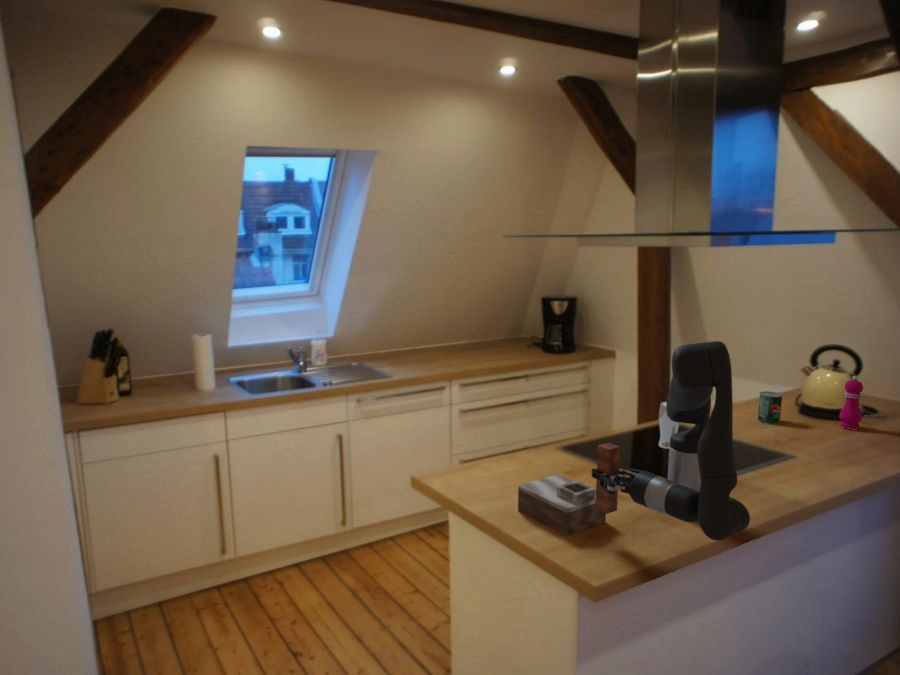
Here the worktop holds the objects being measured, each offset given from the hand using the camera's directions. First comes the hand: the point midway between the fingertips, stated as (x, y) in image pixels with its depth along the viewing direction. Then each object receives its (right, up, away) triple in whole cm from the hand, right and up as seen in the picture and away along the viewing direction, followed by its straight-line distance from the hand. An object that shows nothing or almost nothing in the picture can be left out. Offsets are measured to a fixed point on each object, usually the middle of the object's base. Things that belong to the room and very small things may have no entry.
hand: (598, 470), depth 164 cm
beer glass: (+39, -5, +68) cm, 79 cm away
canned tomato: (+87, 0, +98) cm, 131 cm away
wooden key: (+2, -9, -1) cm, 9 cm away
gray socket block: (-7, -14, +13) cm, 20 cm away
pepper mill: (+114, -2, +90) cm, 145 cm away
